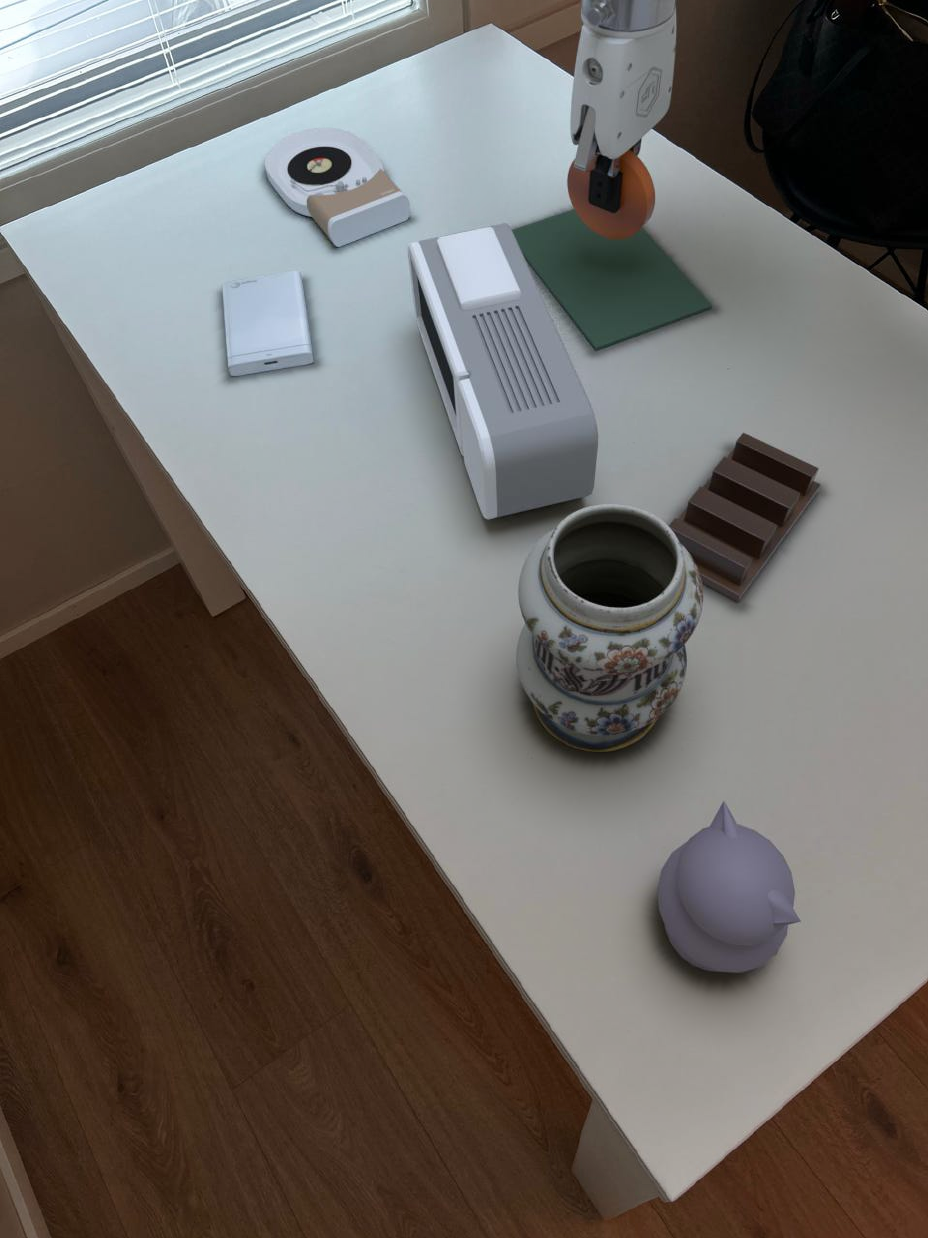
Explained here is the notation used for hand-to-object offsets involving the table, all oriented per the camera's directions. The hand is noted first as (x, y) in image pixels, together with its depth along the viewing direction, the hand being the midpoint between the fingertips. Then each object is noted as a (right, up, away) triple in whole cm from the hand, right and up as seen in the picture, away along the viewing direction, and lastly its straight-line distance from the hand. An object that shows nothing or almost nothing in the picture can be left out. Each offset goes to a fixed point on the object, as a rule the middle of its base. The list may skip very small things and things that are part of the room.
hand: (609, 199), depth 93 cm
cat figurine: (+2, -61, -28) cm, 67 cm away
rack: (+9, -32, -11) cm, 35 cm away
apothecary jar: (-4, -46, -19) cm, 50 cm away
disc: (0, 0, -1) cm, 1 cm away
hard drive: (-34, -11, +5) cm, 36 cm away
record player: (-29, +9, +17) cm, 35 cm away
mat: (+1, -4, +7) cm, 8 cm away
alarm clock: (-11, -21, -3) cm, 24 cm away
